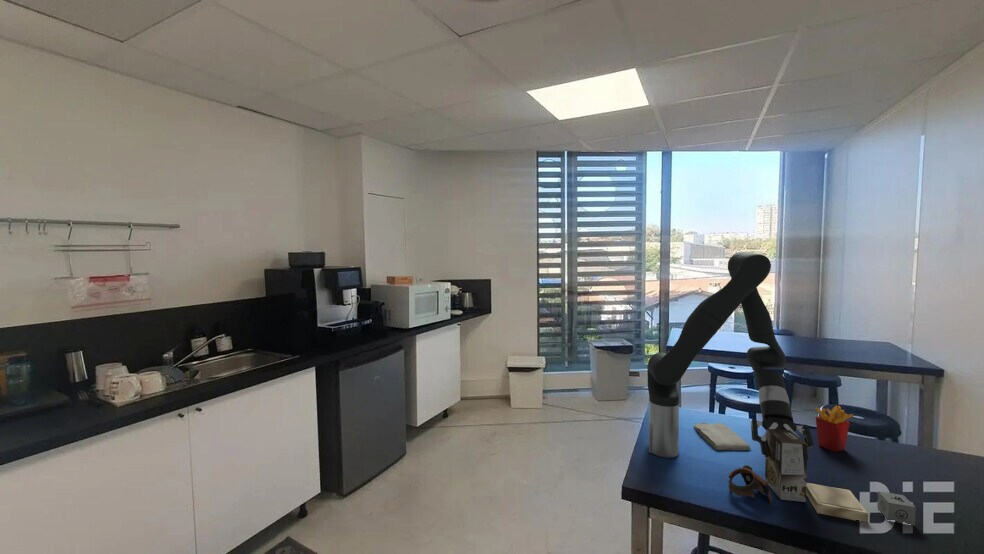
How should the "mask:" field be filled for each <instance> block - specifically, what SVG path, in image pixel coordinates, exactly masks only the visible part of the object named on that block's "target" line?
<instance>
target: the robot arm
mask: <svg viewBox="0 0 984 554" xmlns="http://www.w3.org/2000/svg"><path fill="white" fill-rule="evenodd" d="M727 261H728V262H727V270H728V273H729V276H730V280H729V281H728V282H727V283H726V284H725V285H724V286H723V287H722V288H721V289H719V290H718V291H716V292H715V293H713V294H712V295H710V296H708V297H706V298H705V299H704V300H702V301H701V302H700V303H699V304H698V305H697V306H696V307H695V308H694V310H692V312H691V313H690V315H689V316H688V317H687V318H686V321H685V322H684V325H683V327H682V329H681V332H680V334H679V337H678V339H677V340H676V342H675V344H674V345H673V346H672V347H671V348H670V349H669V350H668V352H657V353H654V354H652V355H651V356H650V358H649V360H648V363H647V391H648V396H649V397H648V398H649V399H648V401H649V402H648V403H649V405H648V406H649V407H648V408H649V409H648V412H649V413H648V414H649V415H648V453H649V454H653V455H655V456H658V457H662V458H668V459H669V458H676V457H678V455H679V452H680V451H679V450H680V449H679V447H680V446H679V445H680V444H679V441H680V440H679V439H680V438H679V437H680V436H679V434H680V430H679V427H680V424H679V423H680V395H679V393H678V389H677V383H678V382H679V381H680V380H681V379H682V378H683V376H684V374H685V373H686V371H687V370H688V368H689V367H690V366H691V364H692V363H693V361H694V360H695V358H696V357H697V356H698V355H699V353H701V351H702V350H703V349H704V347H706V345H707V344H708V343H709V342H710V340H711V339H712V338H713V337H714V336H715V335H716V334H717V332H718V331H719V330H720V329H721V327H723V325H724V324H725V323H727V320H728V319H729V318H730V316H731V315H732V314H733V313H734V312H735V311H736V310H737V308H738V307H739V306H741V308H742V313H743V315H744V316H743V317H744V319H745V324H746V329H747V334H748V338H749V340H750V341H751V342H753V343H757V344H764V345H766V346H753V347H750V348H749V349H747V351H746V354H745V355H746V359H747V362H748V363H749V366H750V367H751V369H752V371H753V374H754V375H755V378H756V382H757V388H758V389H757V390H758V401H759V405H760V412H761V418H762V420H757V418H755V417H754V418H752V419H751V422H750V429H751V430H750V431H751V440H752V441H753V442H758V444H759V445H760V450H761V451H760V452H761V454H762V455H763V456H764V458H766V457H769V451H768V445H767V442H766V440H767V436H766V432H764V434H763V435H762V436H760V435H759V428H760V427H761V426H762V428H763V429H764V430H765V431H766V429H785V430H790V431H792V432H793V433H794V434H795V435H797V436H798V437H799V438H801V437H800V436H799V435H798V434H797V432H796V431H798V432H799V433H800V435H802V437H803V441H804V442H806V443H807V444H808V447H807V450H808V449H809V450H811V449H812V448H813V446H814V441H813V438H812V434H811V431H810V427H809V425H807V424H803V425H796V423H795V422H794V418H793V417H794V416H793V413H792V407H791V403H790V399H789V396H788V393H787V390H786V389H787V388H786V385H785V381H784V376H783V375H782V374H781V373H780V372H778V371H776V370H770V369H781V368H783V367H784V366H785V365H786V364H787V357H786V354H785V353H784V351H783V349H782V347H781V346H780V344H779V342H778V340H777V338H776V335H775V331H774V327H773V322H772V317H771V315H770V312H769V309H768V308H767V306H766V304H765V302H764V300H763V298H762V297H761V295H760V293H759V291H758V290H759V289H758V286H760V285H761V284H762V283H763V282H764V281H765V280H766V279H767V277H768V276H769V274H770V272H771V269H772V264H771V260H770V259H769V257H767V256H766V255H764V254H760V253H756V252H755V253H754V252H748V251H739V252H736V253H734V254H732V255H731V257H730V258H729V260H727ZM808 460H809V454H808V453H807V461H808Z"/></svg>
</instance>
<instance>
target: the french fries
mask: <svg viewBox="0 0 984 554" xmlns="http://www.w3.org/2000/svg"><path fill="white" fill-rule="evenodd" d="M815 411H816V412H818V414H819V415H820V416H816V417H815V425H816V432H817V433H816V434H817V443H818V446H819V447H821V446H822V447H821V448H823V447H824V448H823V449H826V448H827V449H826V450H828V451H830V450H831V451H830V452H832V451H833V452H832V453H837V451H838V452H842V451H845V449H846V444H847V438H848V435H849V429H850V424H851V423H850V421H847V419H850V418H852V417H854V414H853V413H850V414H847V413H845V410H844V409H842V407H841V406H840V405H834V407H832V409H831V410H830V409H829V408H822V409H820V408H819V407H815ZM826 412H827V414H826Z"/></svg>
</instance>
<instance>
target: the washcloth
mask: <svg viewBox="0 0 984 554" xmlns="http://www.w3.org/2000/svg"><path fill="white" fill-rule="evenodd" d="M693 428H694V430H695V429H696V430H695V431H696V432H697V433H698V432H699V433H698V435H699V436H701V437H702V439H703V440H705V441H706V442H707V443H708V444H709V445H710V446H711V448H713V449H714V450H717V451H727V450H729V451H749V450H751V445H750V444H749V443H748V442H746V441H745V440H744V439H743V438H742V437H741V436H739V434H737V433H736V432H734V430H732V429H731V428H729V426H727V424H725V423H721V422H718V423H708V422H702V423H699V422H698V423H695V424H694V425H693Z"/></svg>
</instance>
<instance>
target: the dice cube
mask: <svg viewBox="0 0 984 554" xmlns="http://www.w3.org/2000/svg"><path fill="white" fill-rule="evenodd" d="M876 507H877V508H878V510H879V511H880V512H881V513H882V514H883V515H884V516H885V517H886V519H887V520H895V521H899V522H905V523H907V524H911V525H914V526H915V527H916V511H917V507H916V506H915V504H913V503H912V502H911V500H909V499H908V498H907V496H905V495H904V494H897V493H892V492H885V491H880V490H879V491H877V506H876ZM878 510H877V511H878ZM879 511H878V512H879ZM880 512H879V513H880ZM881 513H880V514H881ZM882 514H881V515H882ZM883 515H882V516H883ZM886 519H885V520H886ZM887 520H886V521H887Z"/></svg>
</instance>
